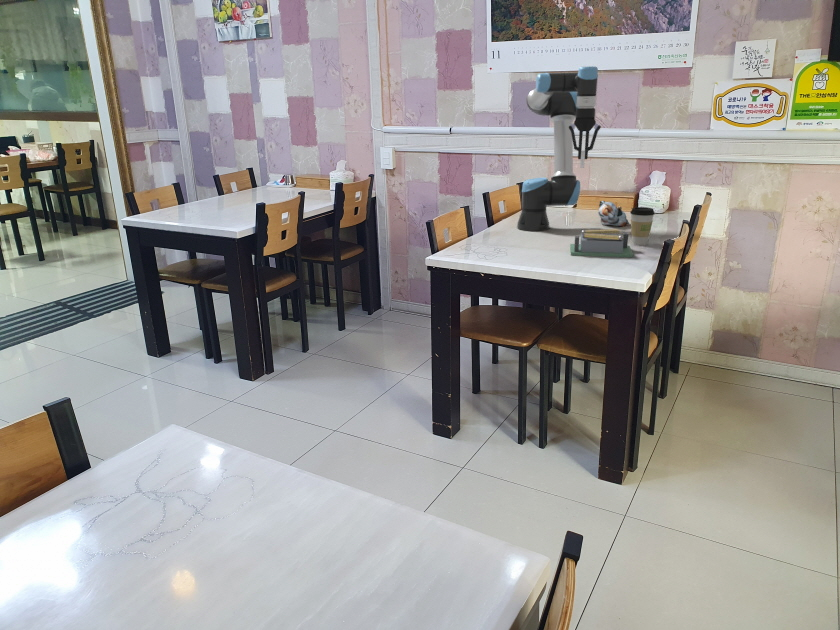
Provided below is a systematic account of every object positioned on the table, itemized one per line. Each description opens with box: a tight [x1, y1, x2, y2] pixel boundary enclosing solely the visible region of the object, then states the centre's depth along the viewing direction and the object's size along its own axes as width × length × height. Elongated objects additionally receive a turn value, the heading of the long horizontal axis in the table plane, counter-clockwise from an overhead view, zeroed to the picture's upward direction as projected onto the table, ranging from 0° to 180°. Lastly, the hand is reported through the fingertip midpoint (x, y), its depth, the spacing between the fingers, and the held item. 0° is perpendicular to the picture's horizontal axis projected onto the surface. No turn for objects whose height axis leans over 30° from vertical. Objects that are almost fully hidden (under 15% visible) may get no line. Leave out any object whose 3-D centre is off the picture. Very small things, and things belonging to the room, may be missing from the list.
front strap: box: [584, 233, 623, 241], centre depth 261 cm, size 15×4×2 cm, turn 78°
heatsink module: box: [569, 231, 634, 258], centre depth 266 cm, size 24×15×7 cm, turn 78°
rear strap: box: [581, 228, 620, 235], centre depth 269 cm, size 15×4×2 cm, turn 78°
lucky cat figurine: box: [597, 200, 630, 228], centre depth 315 cm, size 15×12×14 cm
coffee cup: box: [629, 206, 656, 246], centre depth 277 cm, size 10×10×15 cm
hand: (582, 167), depth 270 cm, fingers closed
